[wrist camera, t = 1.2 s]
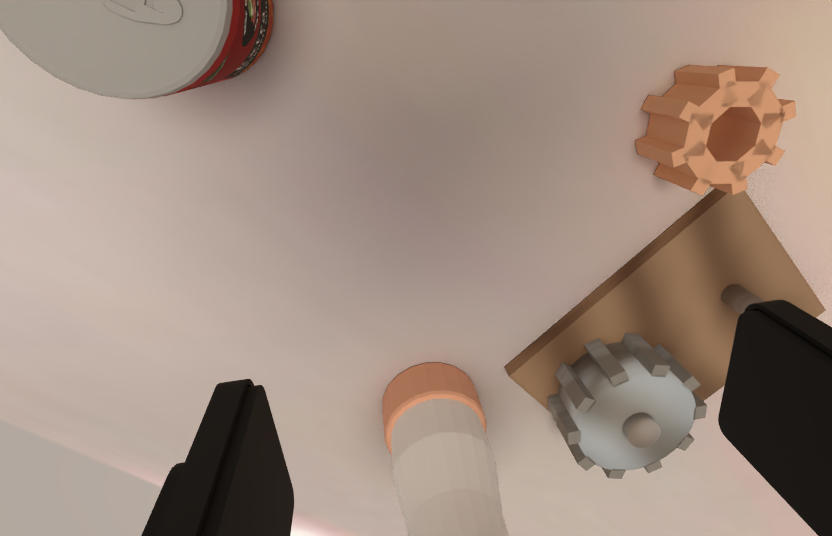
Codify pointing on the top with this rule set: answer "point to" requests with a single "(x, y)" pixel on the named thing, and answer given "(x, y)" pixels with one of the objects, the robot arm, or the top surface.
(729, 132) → the terracotta gear
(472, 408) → the pepper shaker
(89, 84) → the canned food
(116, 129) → the top surface
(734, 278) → the gear board
